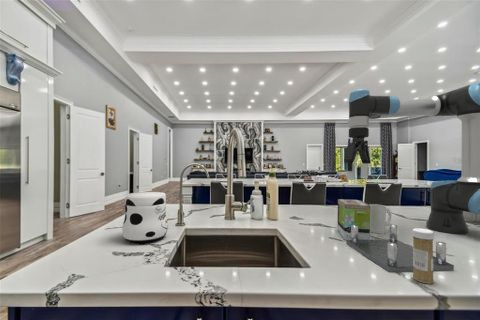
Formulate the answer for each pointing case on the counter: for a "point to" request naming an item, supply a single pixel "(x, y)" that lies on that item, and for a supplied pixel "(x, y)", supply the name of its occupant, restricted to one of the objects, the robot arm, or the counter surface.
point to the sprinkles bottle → (423, 255)
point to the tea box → (353, 218)
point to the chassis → (395, 252)
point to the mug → (379, 218)
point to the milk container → (145, 216)
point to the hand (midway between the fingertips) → (357, 179)
